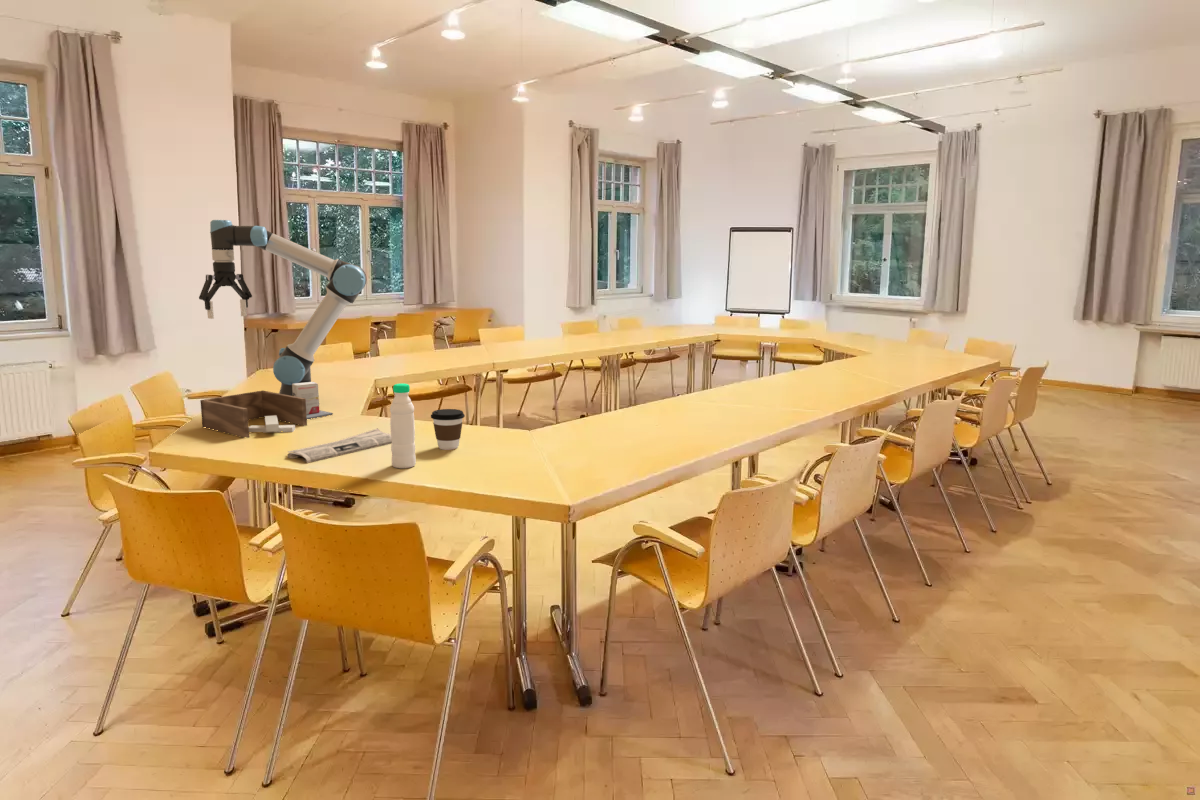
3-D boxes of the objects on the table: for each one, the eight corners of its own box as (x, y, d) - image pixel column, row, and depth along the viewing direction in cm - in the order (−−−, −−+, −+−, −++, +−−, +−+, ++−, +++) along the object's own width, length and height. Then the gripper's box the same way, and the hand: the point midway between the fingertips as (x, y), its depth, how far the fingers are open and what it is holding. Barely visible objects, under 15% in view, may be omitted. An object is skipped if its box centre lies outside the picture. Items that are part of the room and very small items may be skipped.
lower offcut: (295, 431, 284) (295, 424, 283) (292, 434, 280) (292, 427, 279) (251, 432, 282) (250, 425, 281) (247, 434, 278) (247, 428, 277)
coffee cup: (436, 453, 255) (435, 416, 252) (427, 445, 264) (426, 410, 262) (469, 449, 260) (469, 413, 257) (459, 442, 269) (458, 407, 267)
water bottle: (393, 462, 243) (391, 382, 238) (417, 462, 243) (415, 382, 238) (389, 469, 236) (387, 386, 231) (414, 468, 236) (411, 386, 232)
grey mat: (309, 410, 316) (309, 408, 316) (332, 414, 308) (332, 412, 308) (281, 415, 305) (280, 413, 305) (303, 420, 297) (303, 418, 297)
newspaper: (307, 464, 241) (306, 453, 240) (283, 458, 248) (282, 447, 247) (399, 442, 269) (398, 432, 268) (375, 437, 276) (374, 427, 275)
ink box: (315, 410, 311) (313, 381, 309) (320, 413, 307) (318, 383, 305) (292, 413, 305) (291, 383, 303) (297, 415, 302) (295, 385, 299)
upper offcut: (278, 430, 274) (278, 423, 274) (266, 431, 273) (265, 424, 272) (277, 421, 288) (276, 415, 287) (265, 422, 286) (264, 416, 286)
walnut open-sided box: (264, 416, 304) (262, 390, 302) (307, 425, 290) (305, 398, 288) (202, 427, 284) (200, 400, 282) (245, 438, 270) (242, 409, 268)
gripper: (197, 261, 289) (201, 320, 293) (259, 261, 310) (262, 315, 314) (185, 261, 293) (190, 318, 297) (247, 261, 314) (251, 314, 318)
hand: (227, 317), depth 305 cm, fingers open, 13 cm apart
